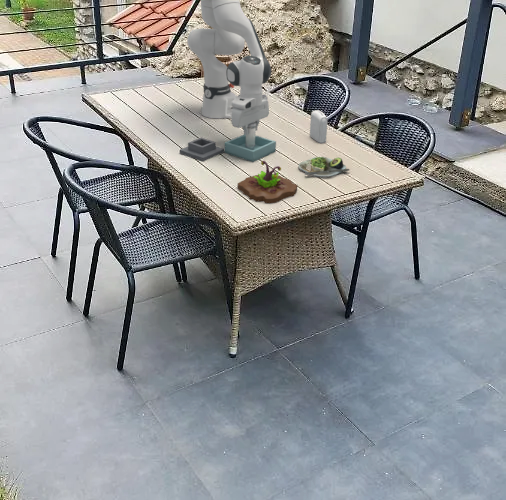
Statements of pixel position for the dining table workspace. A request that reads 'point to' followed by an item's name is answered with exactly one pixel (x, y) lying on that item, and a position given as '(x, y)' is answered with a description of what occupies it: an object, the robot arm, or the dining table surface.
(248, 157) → the parts tray
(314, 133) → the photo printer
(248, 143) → the cylinder
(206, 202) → the dining table surface
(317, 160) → the salad plate
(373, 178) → the dining table surface
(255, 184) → the plant
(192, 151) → the grey square socket
